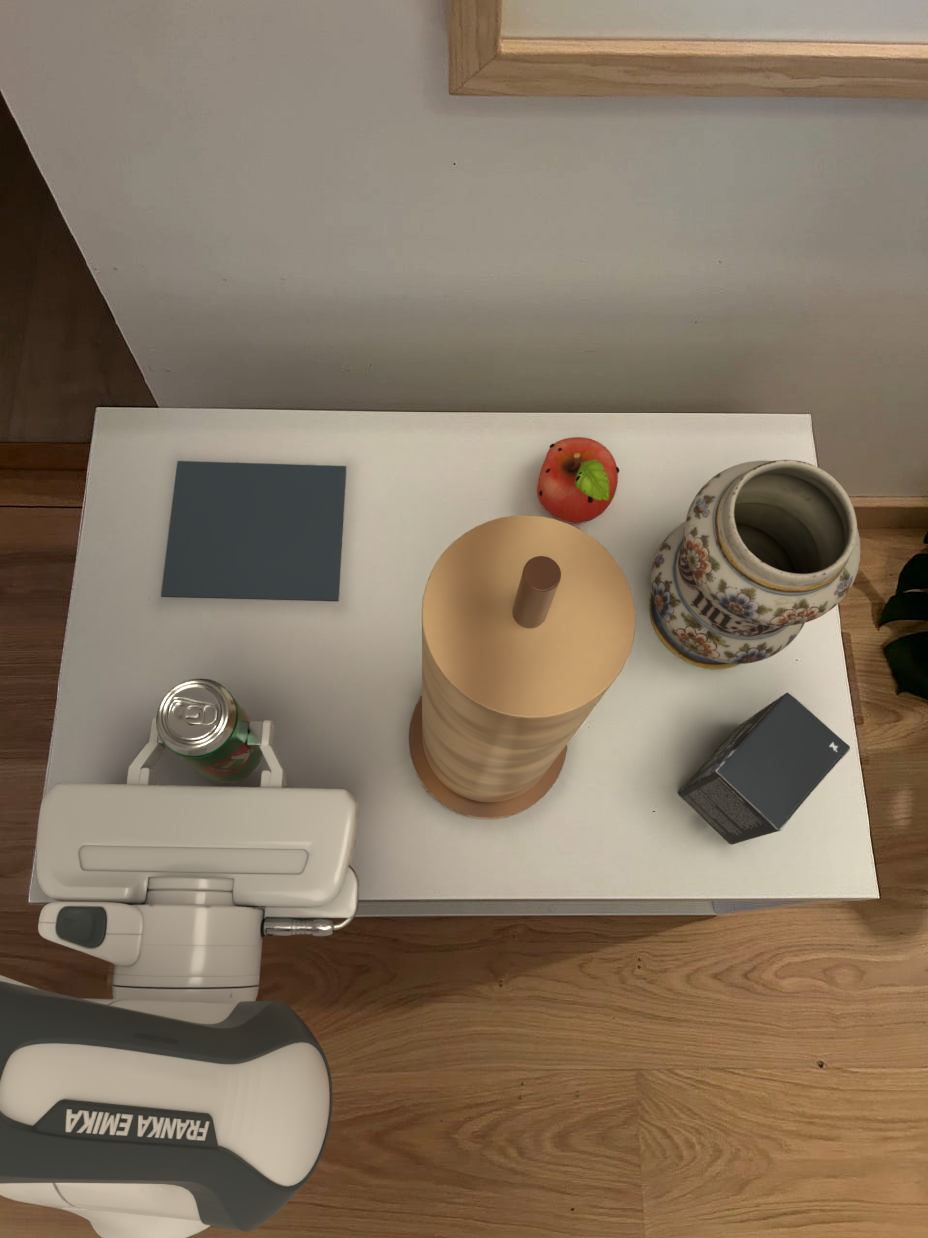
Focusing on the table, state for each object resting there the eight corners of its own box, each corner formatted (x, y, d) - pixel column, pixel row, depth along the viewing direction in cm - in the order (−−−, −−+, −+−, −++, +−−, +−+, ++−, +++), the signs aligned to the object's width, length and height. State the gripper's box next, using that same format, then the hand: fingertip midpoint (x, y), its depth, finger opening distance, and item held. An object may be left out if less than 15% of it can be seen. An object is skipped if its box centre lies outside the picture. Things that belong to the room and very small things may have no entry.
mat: (161, 596, 75) (161, 595, 75) (178, 461, 79) (177, 460, 78) (338, 601, 75) (338, 600, 75) (346, 467, 79) (345, 465, 79)
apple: (511, 494, 79) (523, 434, 69) (573, 451, 80) (593, 387, 71) (569, 562, 77) (589, 510, 68) (632, 517, 79) (660, 460, 69)
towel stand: (406, 818, 70) (392, 711, 37) (411, 663, 74) (402, 440, 41) (566, 820, 70) (695, 718, 37) (563, 666, 74) (676, 449, 41)
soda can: (199, 715, 70) (157, 672, 59) (268, 718, 70) (238, 675, 59) (191, 783, 68) (145, 752, 57) (260, 786, 69) (229, 756, 57)
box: (739, 722, 73) (789, 689, 63) (795, 774, 72) (855, 748, 62) (673, 793, 71) (714, 770, 61) (730, 848, 70) (781, 833, 60)
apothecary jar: (802, 667, 75) (914, 587, 58) (658, 695, 74) (729, 623, 57) (756, 530, 79) (849, 418, 62) (618, 556, 77) (674, 448, 60)
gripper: (353, 937, 57) (364, 713, 61) (9, 932, 56) (46, 705, 61) (359, 937, 63) (369, 733, 67) (49, 932, 62) (79, 726, 66)
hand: (213, 720), depth 64 cm, fingers closed on soda can, 5 cm apart
